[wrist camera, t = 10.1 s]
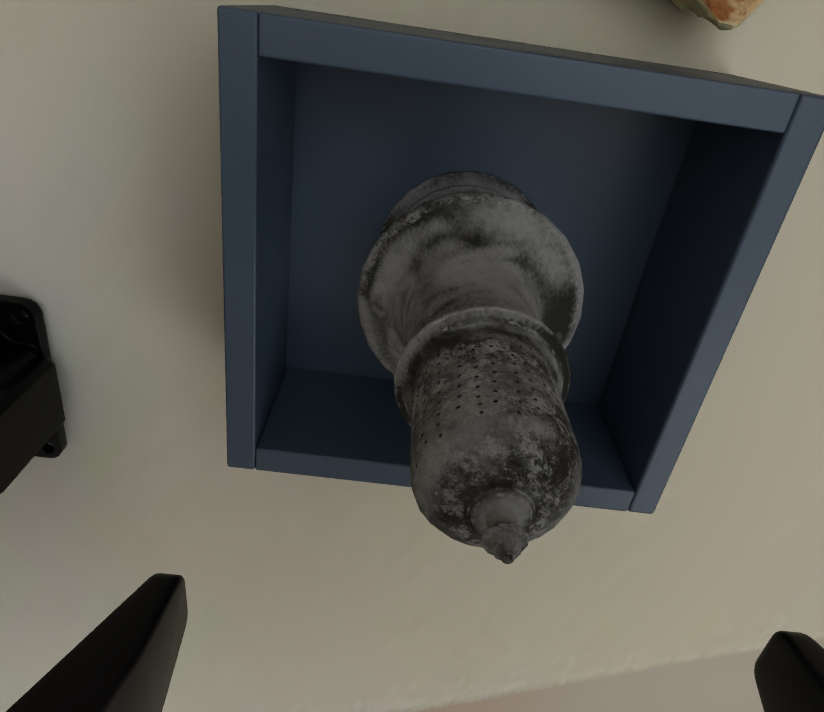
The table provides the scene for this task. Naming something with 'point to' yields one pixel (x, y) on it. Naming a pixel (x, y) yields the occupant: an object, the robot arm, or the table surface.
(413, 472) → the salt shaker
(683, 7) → the shard
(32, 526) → the table surface
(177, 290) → the table surface
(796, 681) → the robot arm
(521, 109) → the bin
